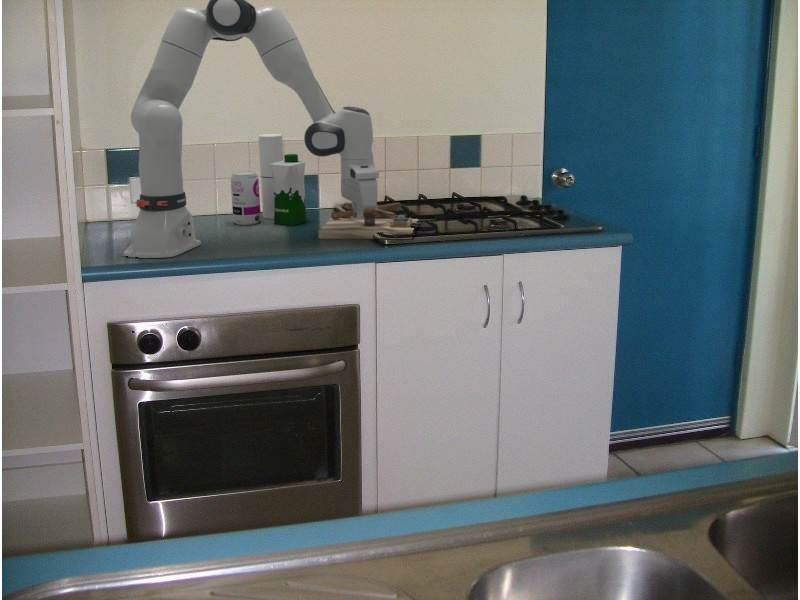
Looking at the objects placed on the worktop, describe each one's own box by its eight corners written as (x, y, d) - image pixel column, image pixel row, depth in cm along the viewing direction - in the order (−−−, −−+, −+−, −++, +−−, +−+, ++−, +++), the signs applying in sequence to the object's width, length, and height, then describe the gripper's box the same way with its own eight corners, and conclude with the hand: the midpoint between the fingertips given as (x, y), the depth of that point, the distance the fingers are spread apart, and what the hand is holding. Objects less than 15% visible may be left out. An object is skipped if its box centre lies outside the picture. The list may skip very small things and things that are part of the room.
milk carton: (310, 220, 278) (307, 154, 272) (293, 226, 270) (290, 158, 264) (286, 218, 282) (283, 153, 276) (269, 224, 274) (265, 157, 268)
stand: (412, 239, 252) (411, 223, 250) (318, 238, 254) (318, 222, 253) (418, 225, 269) (418, 210, 267) (330, 224, 272) (330, 209, 270)
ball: (405, 226, 258) (405, 216, 258) (395, 226, 259) (395, 216, 258) (406, 224, 261) (406, 214, 260) (396, 224, 262) (396, 213, 261)
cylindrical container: (266, 219, 281) (262, 137, 274) (260, 215, 287) (255, 134, 280) (289, 217, 283) (285, 135, 276) (282, 213, 290) (278, 133, 283)
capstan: (424, 215, 258) (424, 204, 258) (355, 227, 244) (355, 215, 243) (377, 205, 275) (376, 194, 274) (310, 215, 261) (309, 204, 260)
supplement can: (263, 220, 280) (260, 171, 276) (257, 225, 272) (254, 175, 268) (237, 219, 281) (234, 171, 276) (230, 225, 273) (226, 175, 269)
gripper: (334, 164, 255) (336, 212, 259) (358, 174, 237) (359, 226, 241) (355, 162, 258) (357, 211, 262) (381, 172, 239) (382, 224, 243)
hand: (358, 218), depth 251 cm, fingers closed
